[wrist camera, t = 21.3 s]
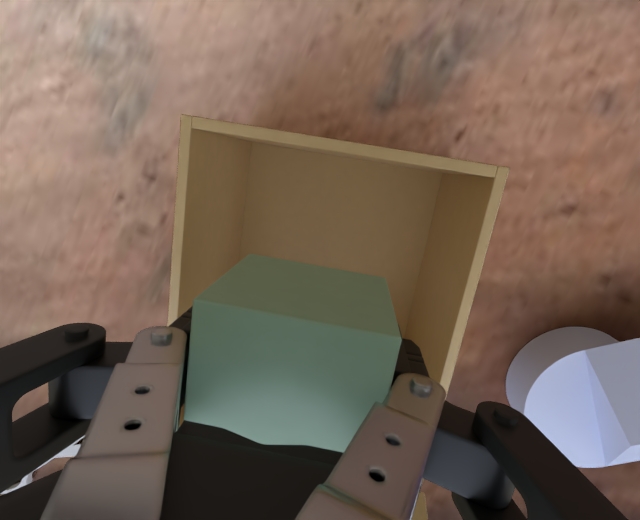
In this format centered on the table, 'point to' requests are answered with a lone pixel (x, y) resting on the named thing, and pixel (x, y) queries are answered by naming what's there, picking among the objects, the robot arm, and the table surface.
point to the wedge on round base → (581, 394)
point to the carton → (337, 221)
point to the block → (290, 352)
